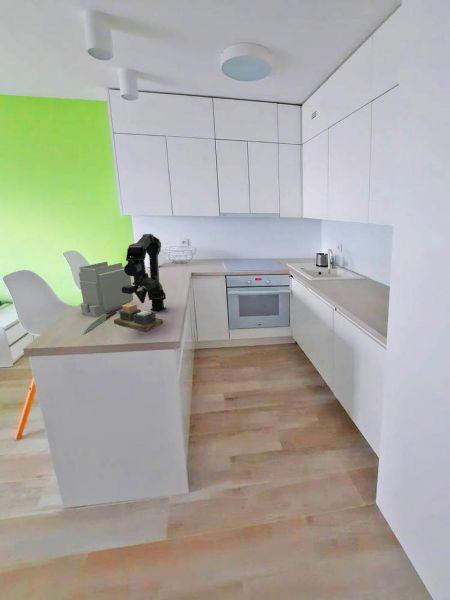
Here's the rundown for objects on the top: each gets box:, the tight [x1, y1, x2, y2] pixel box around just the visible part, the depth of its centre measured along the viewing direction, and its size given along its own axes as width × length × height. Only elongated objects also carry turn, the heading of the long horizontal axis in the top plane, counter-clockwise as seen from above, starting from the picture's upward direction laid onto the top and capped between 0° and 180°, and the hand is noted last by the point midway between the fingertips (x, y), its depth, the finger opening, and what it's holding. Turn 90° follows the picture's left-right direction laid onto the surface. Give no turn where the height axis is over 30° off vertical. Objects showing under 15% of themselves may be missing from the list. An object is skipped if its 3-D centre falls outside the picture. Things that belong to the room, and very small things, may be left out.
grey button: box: [137, 310, 152, 317], centre depth 142 cm, size 5×5×4 cm
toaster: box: [78, 261, 134, 318], centre depth 166 cm, size 17×27×26 cm, turn 153°
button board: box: [113, 308, 164, 333], centre depth 145 cm, size 12×22×6 cm, turn 59°
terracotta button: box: [121, 302, 138, 313], centre depth 146 cm, size 5×5×4 cm
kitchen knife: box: [81, 310, 118, 336], centre depth 146 cm, size 4×1×30 cm
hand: (142, 303), depth 139 cm, fingers closed
